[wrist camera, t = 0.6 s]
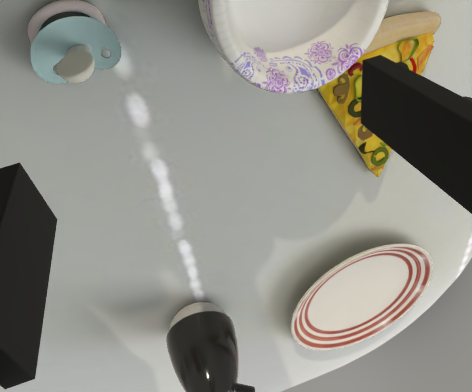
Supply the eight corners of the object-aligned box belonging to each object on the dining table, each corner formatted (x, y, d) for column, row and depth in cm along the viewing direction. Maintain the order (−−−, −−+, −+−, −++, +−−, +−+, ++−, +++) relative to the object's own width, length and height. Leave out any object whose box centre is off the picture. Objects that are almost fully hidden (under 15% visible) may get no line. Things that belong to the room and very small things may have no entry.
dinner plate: (451, 243, 69) (465, 256, 66) (367, 338, 81) (376, 352, 79) (337, 220, 57) (348, 234, 54) (258, 336, 69) (264, 352, 66)
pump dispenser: (227, 325, 65) (256, 417, 53) (166, 339, 62) (181, 439, 50) (228, 285, 58) (260, 379, 47) (160, 299, 56) (176, 402, 44)
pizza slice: (433, -5, 40) (453, 1, 38) (422, 152, 53) (437, 163, 51) (298, 47, 39) (310, 56, 37) (321, 193, 53) (331, 207, 50)
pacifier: (11, 14, 31) (50, 83, 35) (-7, 31, 26) (41, 109, 30) (97, -14, 32) (127, 57, 35) (95, -3, 27) (130, 78, 30)
